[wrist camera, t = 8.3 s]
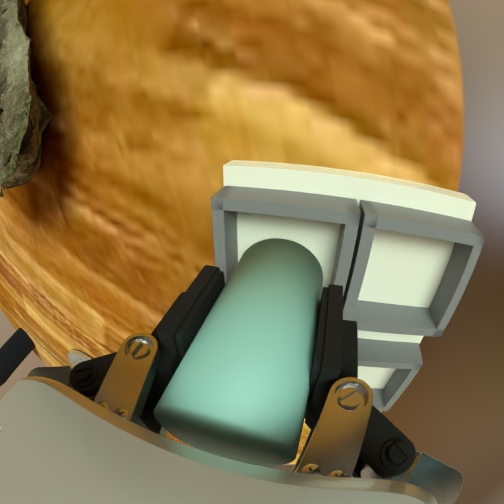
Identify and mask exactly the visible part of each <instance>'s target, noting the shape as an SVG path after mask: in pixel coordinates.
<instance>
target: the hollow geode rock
mask: <svg viewBox="0 0 504 504" xmlns="http://www.w3.org/2000/svg"><path fill="white" fill-rule="evenodd" d="M26 26H27V12H26V4H25V0H0V197H3V192H2V189H1V187H3V190H4V189H5V188H13V187H15V186H20V185H22V184H25V183H28V182H29V181H30V180H31V178H32V177H33V176H34V175H35V174H36V172H37V170H38V168H39V167H40V162H41V155H42V140H41V139H42V132H43V130H44V129H45V127H46V125H47V123H48V122H49V120H50V119H51V117H52V116H51V114H50V113H49V111H48V109H47V107H46V106H45V104H44V103H43V102H42V101H41V99H40V98H39V97H38V95H37V94H36V92H37V87H36V86H35V84H34V82H33V81H32V79H31V73H30V49H31V48H29V45H30V41H31V39H30V38H29V37H28V36H26ZM4 195H5V194H4Z"/></svg>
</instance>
